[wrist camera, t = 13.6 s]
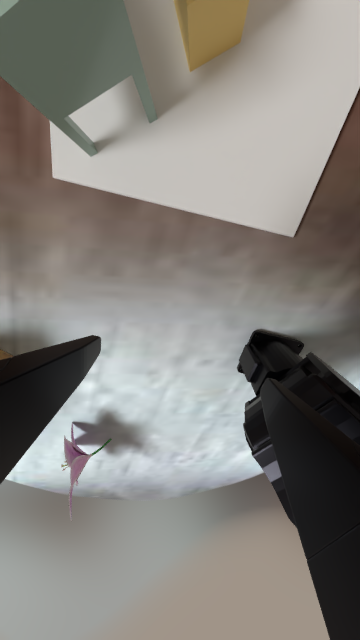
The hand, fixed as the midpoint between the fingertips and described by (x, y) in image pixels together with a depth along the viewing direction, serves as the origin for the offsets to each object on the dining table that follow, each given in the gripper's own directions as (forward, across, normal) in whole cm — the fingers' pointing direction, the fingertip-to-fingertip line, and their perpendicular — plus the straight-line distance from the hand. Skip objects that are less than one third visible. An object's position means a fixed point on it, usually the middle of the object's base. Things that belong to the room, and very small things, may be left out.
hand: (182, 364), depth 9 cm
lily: (+13, +12, +31) cm, 36 cm away
